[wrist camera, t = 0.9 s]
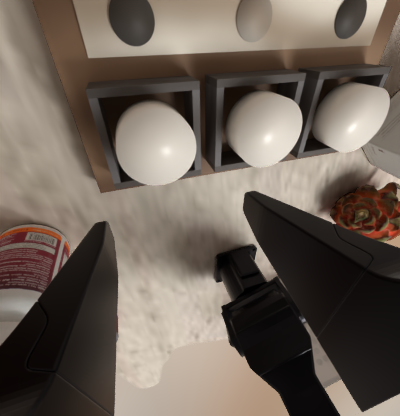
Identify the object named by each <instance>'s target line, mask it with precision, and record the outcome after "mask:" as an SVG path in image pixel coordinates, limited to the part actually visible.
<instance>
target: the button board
mask: <svg viewBox="0 0 400 416" xmlns="http://www.w3.org/2000/svg"><path fill="white" fill-rule="evenodd" d="M32 1H33V4H34V7H35V10H36V13H37V15H38V18H39V21H40V24H41V27H42V29H43V32H44V35H45V38H46V41H47V43H48V46H49V49H50V52H51V55H52V57H53V60H54V63H55V66H56V69H57V71H58V74H59V77H60V80H61V83H62V85H63V88H64V91H65V94H66V97H67V100H68V102H69V105H70V108H71V111H72V114H73V116H74V119H75V122H76V125H77V128H78V130H79V133H80V136H81V139H82V142H83V144H84V147H85V150H86V153H87V156H88V158H89V161H90V164H91V167H92V170H93V172H94V175H95V178H96V181H97V184H98V187H99V189H100V192H101V193H104V192H110V191H116V190H121V189H127V188H133V187H139V186H144V185H146V184H143V183H140V182H138V181H136V180H134V179H133V178H131V177H130V176H129V175H128V174H127V173H126V172H125V171H124V170H123V169H122V167H121V165H120V163H119V161H118V158H117V154H116V134H115V133H116V126H117V122H118V120H119V118H120V116H121V114H122V113H123V112H124V111H125V110H126V109H127V108H128V107H129V106H131V105H132V104H134V103H136V102H139V101H142V100H159V101H162V102H165V103H167V104H169V105H171V106H172V107H173V108H175V109H176V110H177V111H178V112H179V113H180V115H181V116H182V117H183V118H184V119H185V121H186V122H187V123H188V124H189V126H190V127H191V129H192V131H193V133H194V135H195V139H196V155H195V159H194V161H193V164H192V165H191V167H190V169H189V170H188V171H187V172H186V173H185V174H184V175H183V176H182V177H181V178H179V179H185V178H191V177H196V176H202V175H208V174H214V173H220V172H225V171H231V170H237V169H243V168H248V167H253V166H251V165H249V164H247V163H246V162H245V161H244V160H243V159H242V158H241V157H240V156H239V155H238V154H237V153H236V152H235V151H234V150H233V149H232V148H231V147H230V146H229V144H228V142H227V140H226V135H225V126H226V121H227V117H228V115H229V113H230V111H231V109H232V107H233V106H234V105H235V103H236V102H237V101H238V100H239V99H240V98H241V97H243V96H244V95H246V94H247V93H249V92H252V91H255V90H268V91H270V92H273V93H276V94H279V95H281V96H284V97H287V98H290V99H292V100H293V101H294V102H296V103H297V105H298V106H299V108H300V110H301V113H302V129H301V133H300V136H299V138H298V140H297V142H296V144H295V146H294V147H293V149H292V150H291V151H290V152H289V153H288V154H287V155H286V156H285V157H284V158H283V159H282V160H280V161H279V162H283V161H289V160H295V159H300V158H306V157H312V156H318V155H324V154H329V153H335V152H339V151H337V150H335V149H333V148H331V147H329V146H327V145H325V144H323V143H322V142H320V141H318V140H316V139H315V137H314V135H313V133H312V121H313V117H314V114H315V111H316V109H317V107H318V106H319V104H320V102H321V101H322V100H323V98H324V97H325V96H326V95H327V94H328V93H329V92H330V91H331V90H332V89H333V88H335V87H336V86H338V85H340V84H342V83H345V82H356V83H361V84H366V85H371V86H376V87H381V88H383V86H384V84H385V81H386V79H387V77H388V74H389V72H390V70H391V68H392V67H391V66H382V65H378V64H379V62H380V59H381V57H382V54H383V52H384V49H385V47H386V44H387V42H388V39H389V37H390V35H391V32H392V30H393V27H394V25H395V22H396V20H397V17H398V15H399V12H400V0H32ZM179 179H178V180H179Z"/></svg>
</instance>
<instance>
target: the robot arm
mask: <svg viewBox="0 0 400 416" xmlns="http://www.w3.org/2000/svg"><path fill="white" fill-rule="evenodd" d="M243 211H244V214H245V216H246V218H247V220H248V223H249V225H250V227H251V229H252V231H253V233H254V236H255V238H256V240H257V242H258V243H259V245H260V247H261V248H262V250H263V252H264V253H265V255H266V256H267V258H268V260H269V261H270V263H271V265H272V266H273V268H274V269H275V271H276V273H277V274H278V276H279V278H280V279H281V281H282V283H283V284H284V285H283V284H282V283H281V281H280V280H279V279H278V277H277V276H276V277H275V278H273V279H272V280H270V281H269V282H267V280H266V279H265V277H264V276H263V274H262V272H261V271H260V269H259V268H258V266H257V265H256V263H255V261H254V260H255V255H256V251H257V248H256V246H250V247H246V248H242V249H238V250H234V251H230V252H227V253H223V254H219V255H217V256H216V266H215V281H216V282H217V283H218V282H222V281H223V283H224V285H225V287H226V289H227V292H228V294H229V296H230V298H231V301H232V302H230V303H228V304H226V305H223V306H221V307H222V311H223V312H222V313H221V314H222V316H223V319H224V321H225V324H226V328H227V334H228V339H229V343H230V345H231V346H232V347H235V348H236V350H237V351H238V352H239V354H240V355H241V356H242V357H243V356H245V358H246V360H247V362H248V364H249V366H250V368H251V369H252V370H253V371H254V372H255V373H256V374H257V375H259V376H260V377H261V378H262V379H263V380H264V381H266V382H267V383H268V384H269V385H270V386H271V387H272V388H274V389H275V390H276V391H277V392H278V393H279V394H280V396H281V398H282V401H283V403H284V405H285V407H286V409H287V411H288V413H289V415H290V416H340V414H339V413H338V411H337V409H336V408H335V406H334V404H333V403H332V401H331V399H330V398H329V396H328V394H327V393H326V391H325V389H324V387H323V386H322V384H321V382H320V381H319V379H318V377H317V376H316V374H315V366H314V358H313V350H312V341H311V336H310V334H309V333H308V331H307V329H306V328H305V326H304V324H306V323H308V325H309V327H310V328H311V330H312V332H313V333H314V335H315V336H316V337H317V340H318V342H319V343H320V345H321V347H322V348H323V350H324V351H325V353H326V355H327V356H328V358H329V360H330V361H331V363H332V364H333V366H334V368H335V369H336V371H337V373H338V374H339V376H340V378H341V379H342V381H343V382H344V384H345V386H346V387H347V389H348V390H349V392H350V394H351V395H352V397H353V399H354V400H355V402H356V404H357V405H358V407H359V408H360V410H361V411H362V412H364V411H366V410H368V409H370V408H372V407H374V406H376V405H378V404H380V403H382V402H384V401H386V400H388V399H390V398H392V397H394V396H396V395H398V394H400V248H398V247H395V246H392V245H389V244H387V243H384V242H381V241H378V240H375V239H372V238H370V237H367V236H364V235H361V234H359V233H356V232H353V231H351V230H348V229H346V228H343V227H341V226H339V225H336V224H332V223H331V222H329V221H326V220H324V219H322V218H319V217H317V216H314V215H312V214H310V213H307V212H305V211H302V210H300V209H298V208H295V207H293V206H290V205H288V204H285V203H283V202H281V201H278V200H276V199H273V198H271V197H269V196H266V195H264V194H261V193H259V192H257V191H250V192H246V193H245V196H244V204H243ZM284 286H285V287H286V288H285V287H284ZM117 304H118V269H117V260H116V250H115V241H114V237H113V234H112V231H111V229H110V226H109V223H108V222H107V221H103V222H98V223H95V224H94V226H93V227H92V228H91V230H90V231H89V232H88V234H87V235H86V236H85V237H84V239H83V240H82V241H81V243H80V244H79V245H78V247H77V248H76V249H75V251H74V252H73V253H72V255H71V256H70V257H69V259H68V260H67V261H66V262H65V264H64V265H63V266H62V268H61V269H60V270H59V272H58V273H57V274H56V276H55V277H54V278H53V280H52V281H51V282H50V284H49V285H48V286H47V288H46V289H45V290H44V291H43V293H42V294H41V295H40V297H39V298H38V302H35V303H34V305H33V306H32V307H31V308H30V310H29V311H28V312H27V314H26V315H25V316H24V317H23V319H22V320H21V321H20V323H19V324H18V325H17V326H16V328H15V329H14V330H13V331H12V332H11V334H10V335H9V336H8V337H7V338H6V339H5V341H4V342H3V343H2V344H1V345H0V416H114V405H115V372H116V338H117Z"/></svg>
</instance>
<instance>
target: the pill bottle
mask: <svg viewBox="0 0 400 416" xmlns="http://www.w3.org/2000/svg"><path fill="white" fill-rule="evenodd" d="M69 252H70V246H69V242H68V240H67V239H66V237H65V236H64V235H63V234H62V233H60V232H59V231H57V230H55V229H53V228H51V227H47V226H43V225H32V224H31V225H20V226H16V227H13V228H10V229H8V230H7V231H5V232H4V233H2V234H1V235H0V345H1V344H2V343H3V342H4V341H5V339H6V338H7V337H8V336H9V335H10V334H11V332H12V331H13V330H14V329H15V328H16V326H17V325H18V324H19V323H20V321H21V320H22V319H23V317H24V316H25V315H26V314H27V312H28V311H29V310H30V308H31V307H32V306H33V305H34V303H35V302H38V298H39V297H40V295H41V294H42V293H43V291H44V290H45V289H46V288H47V286H48V285H49V284H50V282H51V281H52V280H53V278H54V277H55V276H56V274H57V273H58V272H59V270H60V269H61V268H62V266H63V265H64V264H65V262H66V261H67V260H68V258H69Z"/></svg>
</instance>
